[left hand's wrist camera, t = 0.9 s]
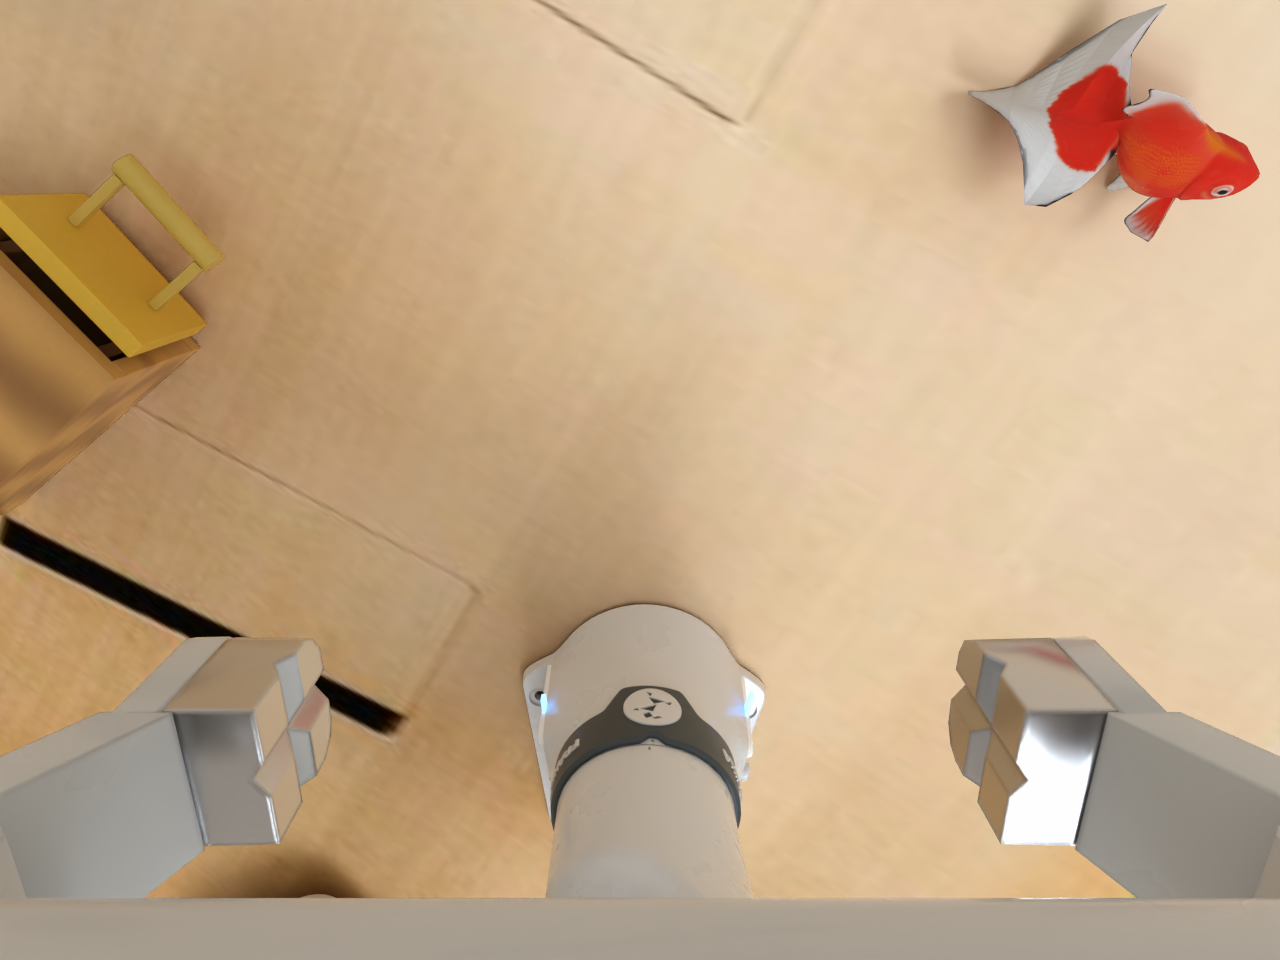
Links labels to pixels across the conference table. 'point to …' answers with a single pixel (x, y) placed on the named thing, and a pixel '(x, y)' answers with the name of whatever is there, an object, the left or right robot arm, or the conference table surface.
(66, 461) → the cabinet
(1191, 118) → the fish
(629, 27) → the conference table surface
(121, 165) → the drawer
